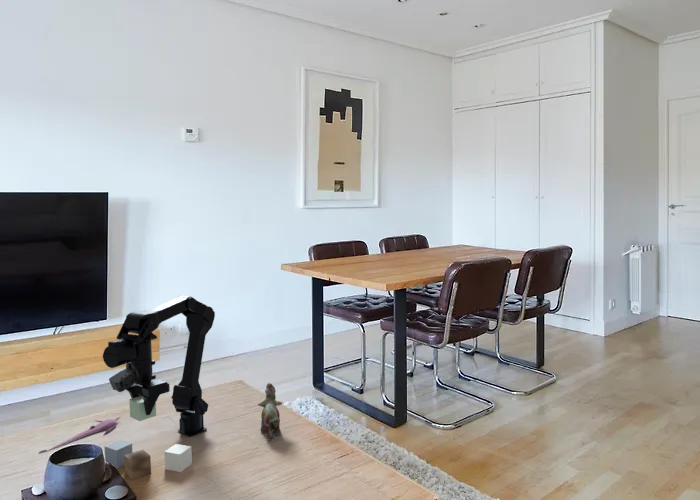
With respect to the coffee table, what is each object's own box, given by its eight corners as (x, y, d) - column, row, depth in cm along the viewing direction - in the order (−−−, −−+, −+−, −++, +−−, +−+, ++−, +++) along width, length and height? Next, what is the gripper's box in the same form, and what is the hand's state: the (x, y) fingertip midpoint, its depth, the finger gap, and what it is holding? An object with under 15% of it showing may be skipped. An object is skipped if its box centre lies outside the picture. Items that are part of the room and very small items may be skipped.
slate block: (120, 456, 157) (120, 439, 157) (132, 460, 155) (132, 443, 154) (105, 463, 153) (104, 446, 153) (117, 468, 151) (116, 450, 150)
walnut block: (143, 467, 151) (142, 449, 151) (151, 473, 147) (150, 455, 147) (125, 473, 148) (124, 455, 147) (132, 480, 144) (131, 461, 144)
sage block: (146, 411, 159) (145, 394, 159) (156, 415, 156) (155, 398, 155) (130, 416, 155) (129, 399, 155) (139, 421, 152) (138, 403, 152)
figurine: (285, 426, 178) (284, 380, 176) (277, 442, 166) (276, 393, 165) (261, 425, 179) (261, 379, 177) (251, 441, 167) (250, 392, 165)
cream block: (176, 461, 154) (176, 443, 154) (191, 464, 153) (191, 446, 152) (164, 469, 150) (164, 451, 149) (180, 472, 148) (179, 454, 148)
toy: (112, 409, 185) (132, 418, 180) (112, 415, 185) (132, 425, 181) (29, 445, 161) (50, 457, 156) (29, 452, 161) (50, 465, 157)
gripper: (96, 358, 154) (98, 413, 155) (130, 371, 142) (133, 430, 143) (133, 349, 162) (136, 401, 164) (169, 361, 150) (171, 417, 152)
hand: (143, 412), depth 155 cm, fingers closed on sage block, 5 cm apart
